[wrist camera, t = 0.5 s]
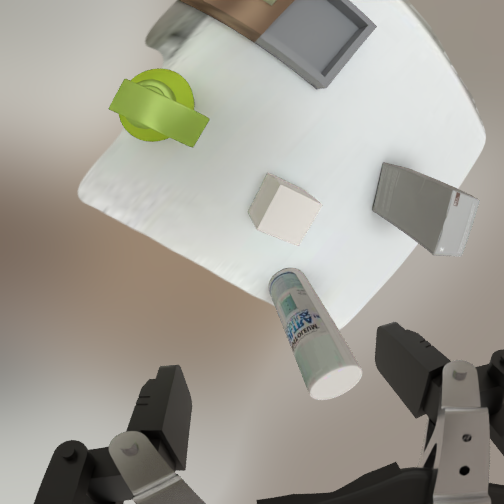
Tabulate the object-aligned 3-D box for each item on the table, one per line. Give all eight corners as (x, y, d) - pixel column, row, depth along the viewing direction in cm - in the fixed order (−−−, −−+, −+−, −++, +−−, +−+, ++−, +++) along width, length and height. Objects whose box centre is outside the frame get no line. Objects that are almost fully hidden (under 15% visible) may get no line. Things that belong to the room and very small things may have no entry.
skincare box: (399, 213, 43) (463, 260, 29) (366, 209, 41) (433, 260, 28) (411, 166, 39) (484, 201, 25) (379, 157, 37) (456, 191, 24)
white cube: (267, 172, 36) (280, 184, 31) (305, 190, 38) (322, 204, 33) (247, 211, 38) (256, 229, 33) (284, 227, 40) (298, 246, 35)
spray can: (289, 305, 47) (333, 402, 30) (259, 290, 45) (297, 396, 28) (314, 277, 46) (372, 370, 28) (285, 259, 43) (340, 360, 26)
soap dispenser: (186, 141, 32) (175, 181, 15) (137, 118, 29) (70, 132, 12) (211, 100, 30) (230, 87, 13) (161, 76, 27) (119, 37, 10)
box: (254, 42, 27) (259, 36, 25) (310, -16, 23) (319, -23, 21) (316, 88, 31) (326, 88, 29) (365, 30, 27) (376, 26, 25)
